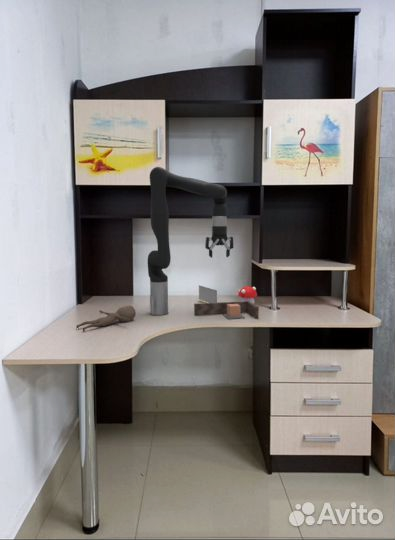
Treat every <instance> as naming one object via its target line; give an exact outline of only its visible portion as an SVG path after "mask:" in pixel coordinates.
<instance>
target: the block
mask: <svg viewBox="0 0 395 540" xmlns="http://www.w3.org/2000/svg"><path fill="white" fill-rule="evenodd" d="M227 315H228V316H229V317H240V315H242V313H241V306H240V305H238V304H227Z"/></svg>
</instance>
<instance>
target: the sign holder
mask: <svg viewBox="0 0 395 540" xmlns="http://www.w3.org/2000/svg"><path fill="white" fill-rule="evenodd" d="M197 302H198V303H218V291H217V289H213V288H210V287H206V286H203V285H199V284H198V300H197Z"/></svg>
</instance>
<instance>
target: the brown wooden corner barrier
mask: <svg viewBox="0 0 395 540" xmlns="http://www.w3.org/2000/svg"><path fill="white" fill-rule="evenodd" d="M227 304H238V305H240V306H241V314H247V315H249V316H250V317H252V318H254V319H255V320H258V319H259V312H260V311H259V306H258V305H256V304H255V303H254V304H253V303H251V302H250V301H241V300H240V301H224V302H221V301H220V302H219V301H218V302H217V303H208V302H206V303H200V302H198V303H194V304H193V306H194V308H193V311H194V313H193V315H194V317H196V316H197V317H199V316H212V315H213V316H215V315H223V314H227Z"/></svg>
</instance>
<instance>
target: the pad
mask: <svg viewBox="0 0 395 540" xmlns="http://www.w3.org/2000/svg"><path fill="white" fill-rule="evenodd" d="M222 316H223V317H224V318H225V319H227V320H241V318H243V319H246V317H245V316H244V315H242V314H241V315H240V317H229V316H228V315H227V314H222Z"/></svg>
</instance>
